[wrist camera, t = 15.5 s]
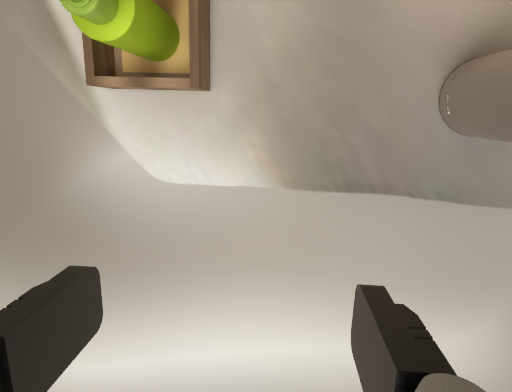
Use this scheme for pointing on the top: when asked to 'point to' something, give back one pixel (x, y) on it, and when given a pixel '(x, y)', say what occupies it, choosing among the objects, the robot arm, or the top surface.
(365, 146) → the top surface
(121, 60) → the walnut box
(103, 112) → the top surface
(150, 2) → the soap dispenser
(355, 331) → the robot arm
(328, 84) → the top surface
